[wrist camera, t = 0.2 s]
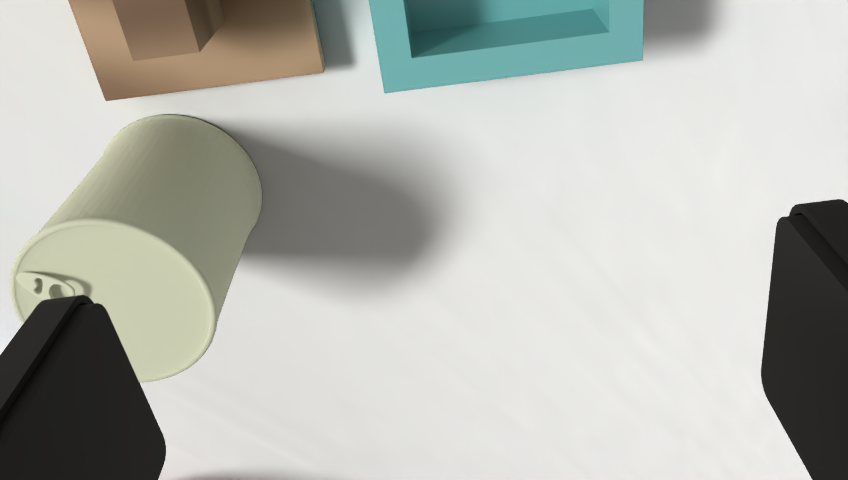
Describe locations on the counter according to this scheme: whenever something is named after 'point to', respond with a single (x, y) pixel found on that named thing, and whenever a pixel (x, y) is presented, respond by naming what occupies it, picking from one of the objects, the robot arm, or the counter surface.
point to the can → (150, 239)
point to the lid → (196, 43)
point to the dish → (500, 38)
